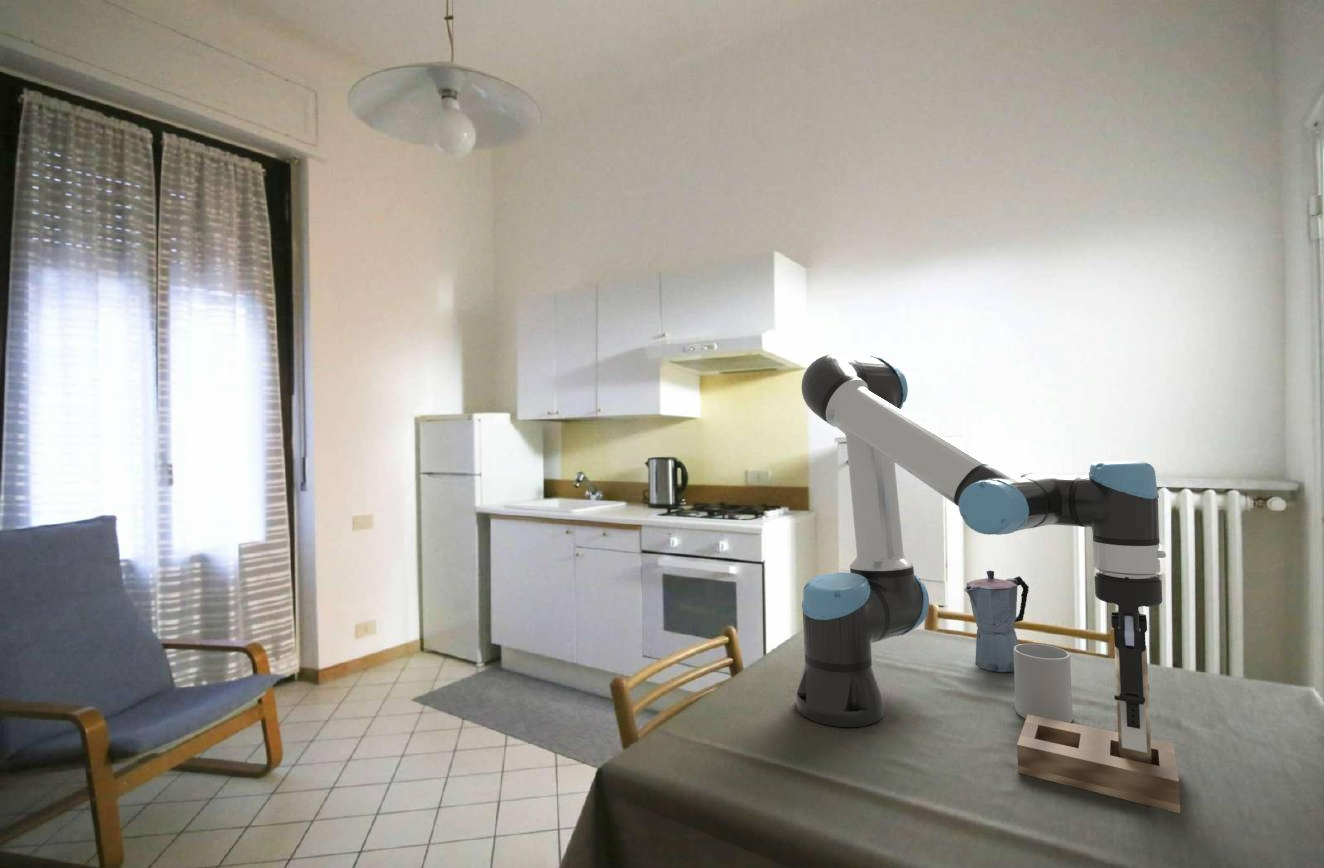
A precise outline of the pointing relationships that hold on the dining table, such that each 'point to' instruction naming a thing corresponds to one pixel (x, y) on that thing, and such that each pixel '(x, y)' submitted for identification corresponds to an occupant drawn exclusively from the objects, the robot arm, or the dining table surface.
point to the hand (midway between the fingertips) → (1134, 742)
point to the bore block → (1097, 762)
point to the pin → (1135, 754)
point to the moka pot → (996, 620)
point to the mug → (1043, 682)
